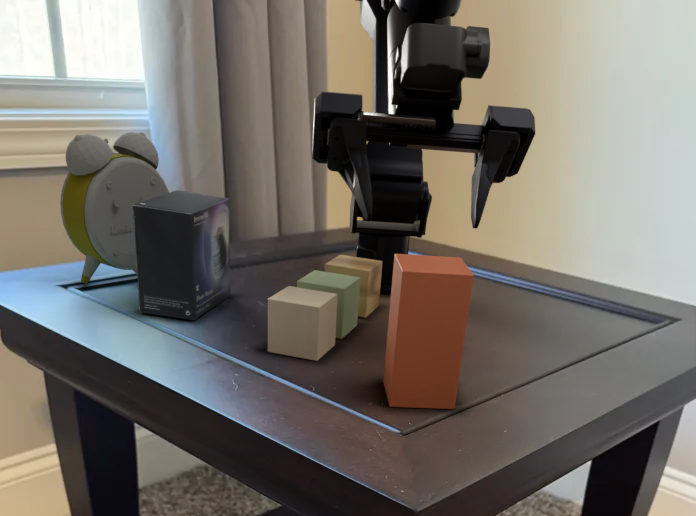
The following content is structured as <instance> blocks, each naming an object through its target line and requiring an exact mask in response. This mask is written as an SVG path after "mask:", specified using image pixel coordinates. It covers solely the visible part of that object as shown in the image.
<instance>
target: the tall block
mask: <svg viewBox="0 0 696 516" xmlns="http://www.w3.org/2000/svg"><path fill="white" fill-rule="evenodd" d="M474 276H475V275H474V273H473V272H472V271H471V269H470V268H469V267H468V265H467V264H466V262H465V261H464V260H463V258H462V257H459V256H458V257H457V256H441V255H427V254H426V255H423V254H409V253H408V254H395V255H394V266H393V277H392V289H391V292H390V301H389V312H388V313H389V314H388V323H387V335H386V347H385V355H384V356H385V357H384V367H383V368H384V369H383V381H382V382H383V386H384V390H385V394H386V398H387V402H388V405H389V408H411V409H413V408H415V409H435V410H436V409H439V410H455V409H456V403H457V402H456V401H457V394H458V388H459V381H460V374H461V366H462V361H463V359H462V358H463V354H464V353H463V352H464V348H465V347H464V346H465V341H466V339H465V338H466V332H467V325H468V318H469V311H470V306H471V305H470V304H471V298H472V290H473V286H474V285H473V283H474Z"/></svg>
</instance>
